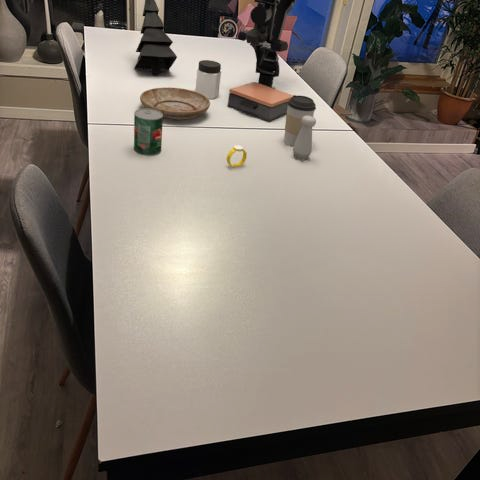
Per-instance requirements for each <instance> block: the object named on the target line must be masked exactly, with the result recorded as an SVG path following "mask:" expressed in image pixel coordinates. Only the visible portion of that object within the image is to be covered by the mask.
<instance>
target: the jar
mask: <svg viewBox="0 0 480 480" xmlns="http://www.w3.org/2000/svg"><path fill="white" fill-rule="evenodd" d="M221 64H222V63H220V62H217V61H215V60H209V59H204V60H203V59H202V60H199V62H198V68H197V70H196V79H195V81H196V82H195V90H194V91H195V92H198V93H200V94H202V95H204V96H205V97H207V98H208V99H209V100H215V99H216V98H217V97H219V95H220V85H221V76H222V71H221V69H222V65H221Z"/></svg>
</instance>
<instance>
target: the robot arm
mask: <svg viewBox="0 0 480 480" xmlns="http://www.w3.org/2000/svg"><path fill="white" fill-rule="evenodd" d="M254 2H255V3H257V6H255V7H253V8H252V10H251V11H250V20H251V21H252V23H253V24H254V25H253V28H251V29H250V30H248V29H244V30H240V31H239V32H238V34H237V40H239V41H242V42H244V41H246V43H247V44H249V45H250V46H251V47H252V48H253V50H254V53H255V58H256V63H255V73H257V74H259V76H258V82H257V83H259V84H262V85H265V86H268V87H271V88H274V89H276V88H275V87H273V84H274V79H275V78H277V77H279V75H280V62H279V60H280V59H279V55H278V53H280V52H281V53H282V52H285V51H288V49H289V48H288V47H289V43H288V42H287V41H285V40H281V37H282V34H283V30H284V27H285V23H286V20H287V15H288V14H289V13H290V12H291V11H292V10H293V9H294V6H295V4H296V3H297V0H254Z"/></svg>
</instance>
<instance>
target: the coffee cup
mask: <svg viewBox="0 0 480 480" xmlns="http://www.w3.org/2000/svg"><path fill="white" fill-rule="evenodd" d="M292 95H293V94H292ZM287 104H288V109H287V114H286V115H285V123H284V124H285V125H284V126H285V127H284V130H285V131H284V136H283V143H284V144H285V145H286V146H289V147H292V148H293V146H294V144H295V142H296V139H297V137H298V134H299V132H300V129H301V127H302V123H301V119H302V117H303V116H312V117H314V114H315V111H316V109H317V106H316V103H315V102H314V99H313V98H311V97H310V96H305V95H296V94H294V95H293V97H292V98H291V99H290V100H289V102H288V103H287Z"/></svg>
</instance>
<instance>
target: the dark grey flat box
mask: <svg viewBox="0 0 480 480" xmlns="http://www.w3.org/2000/svg"><path fill="white" fill-rule="evenodd" d="M227 100H228V101H227V108H230V109H232V108H233V110H236V111H238V112H240V111H241V113H243V114H246V115H248V116H251V117H254V118H255V119H259V120H261V121H264V122H266V123H271V122H272V121H275V120H277V119H280V118H281V117H283V116H286V114H287V109H288V104H287V103H288V102H289V101H287V102H285V103H282V104H279V105H277V106H274V107H268V106H266V105H263V104H260V103H258V102H255V101H252V100H249V99H247V98H244V97H241V96H238V95H236V94H233V93H230V92H228V99H227Z"/></svg>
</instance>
